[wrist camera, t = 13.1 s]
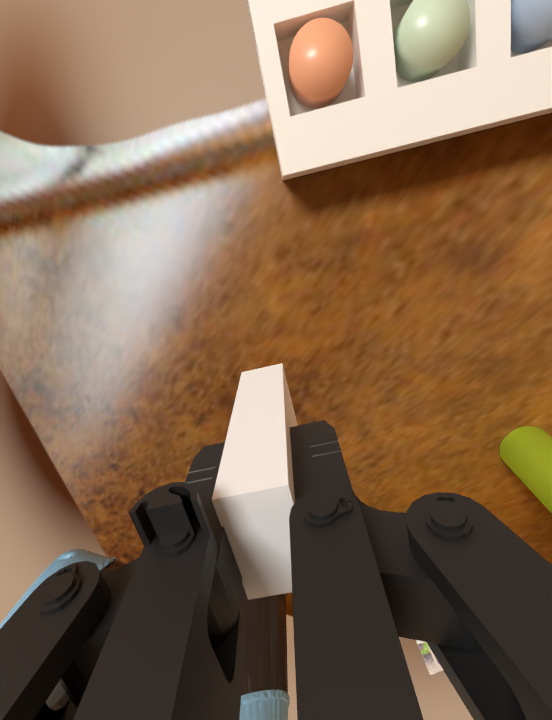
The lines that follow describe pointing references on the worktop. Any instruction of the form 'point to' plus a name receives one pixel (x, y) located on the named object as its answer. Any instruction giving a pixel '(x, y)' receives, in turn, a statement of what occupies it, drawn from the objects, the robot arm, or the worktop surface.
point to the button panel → (394, 83)
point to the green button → (430, 37)
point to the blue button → (530, 24)
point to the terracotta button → (320, 62)
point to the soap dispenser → (530, 460)
